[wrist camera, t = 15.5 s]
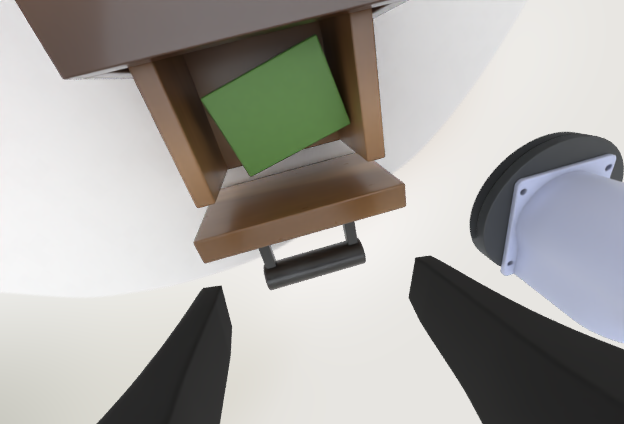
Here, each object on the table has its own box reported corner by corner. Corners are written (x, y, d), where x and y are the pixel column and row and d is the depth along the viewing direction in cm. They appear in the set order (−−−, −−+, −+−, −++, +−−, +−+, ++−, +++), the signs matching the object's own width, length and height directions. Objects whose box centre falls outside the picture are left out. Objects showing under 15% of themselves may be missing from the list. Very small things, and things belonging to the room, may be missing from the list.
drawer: (371, 229, 19) (411, 283, 14) (246, 265, 19) (241, 334, 14) (331, -75, 12) (385, -192, 7) (118, -27, 11) (1, -111, 6)
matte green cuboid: (252, 158, 15) (250, 177, 12) (212, 93, 13) (199, 98, 10) (333, 114, 14) (351, 123, 11) (304, 42, 13) (316, 33, 10)
